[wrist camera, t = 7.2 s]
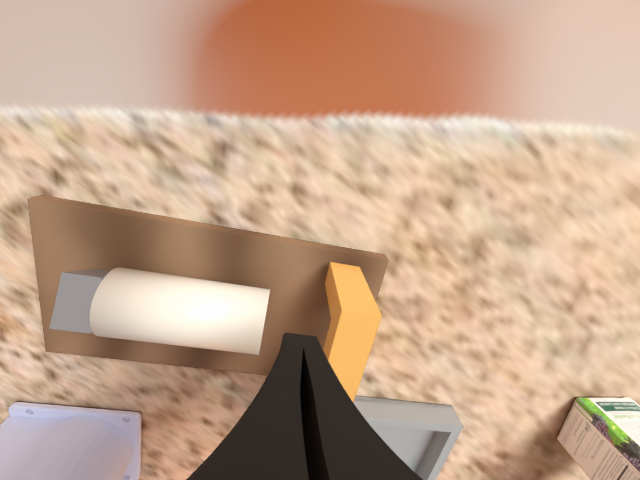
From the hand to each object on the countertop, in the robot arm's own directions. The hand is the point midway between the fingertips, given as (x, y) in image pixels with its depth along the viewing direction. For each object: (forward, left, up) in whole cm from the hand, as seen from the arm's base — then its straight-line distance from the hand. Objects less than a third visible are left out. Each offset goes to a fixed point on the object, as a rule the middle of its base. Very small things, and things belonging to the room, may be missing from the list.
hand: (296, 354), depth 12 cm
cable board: (-5, -4, -9) cm, 11 cm away
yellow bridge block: (+3, -4, -8) cm, 9 cm away
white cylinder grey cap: (-6, -4, -8) cm, 11 cm away
